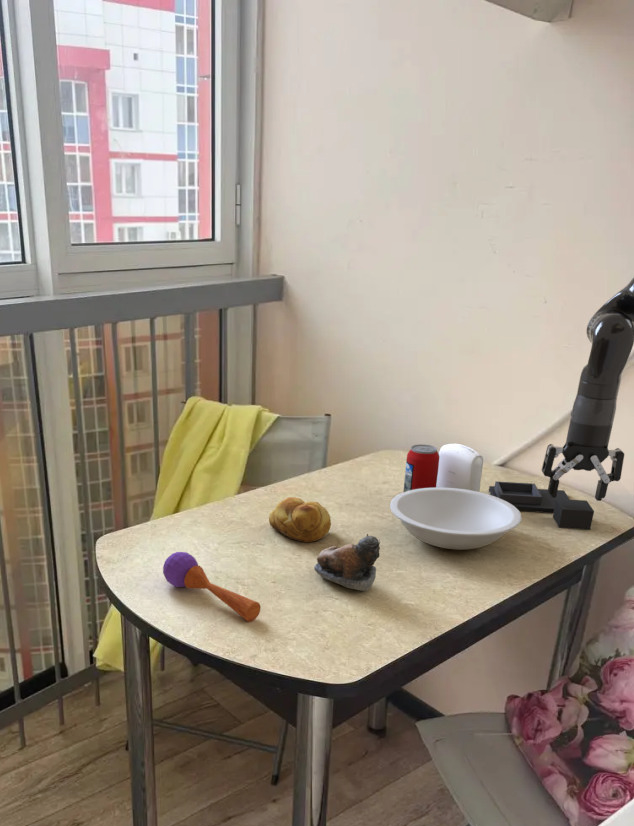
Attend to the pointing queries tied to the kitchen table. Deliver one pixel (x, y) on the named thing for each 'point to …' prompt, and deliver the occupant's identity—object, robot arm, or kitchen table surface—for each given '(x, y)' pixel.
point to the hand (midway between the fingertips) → (575, 497)
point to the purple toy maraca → (205, 584)
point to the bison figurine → (350, 563)
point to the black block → (573, 514)
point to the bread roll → (300, 519)
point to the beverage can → (421, 467)
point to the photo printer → (459, 467)
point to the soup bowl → (454, 516)
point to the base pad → (526, 496)
